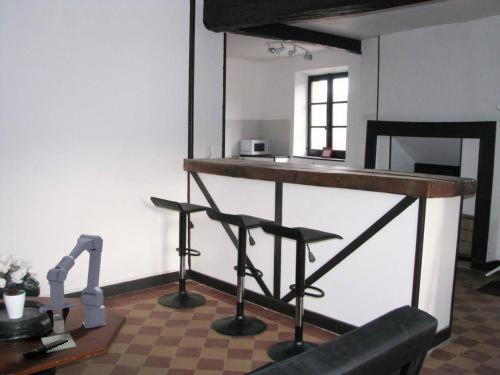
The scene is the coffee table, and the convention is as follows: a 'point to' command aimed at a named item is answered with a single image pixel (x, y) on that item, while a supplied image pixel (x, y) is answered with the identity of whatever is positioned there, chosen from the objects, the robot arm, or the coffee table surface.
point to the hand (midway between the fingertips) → (58, 325)
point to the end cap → (41, 326)
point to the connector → (58, 323)
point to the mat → (56, 338)
